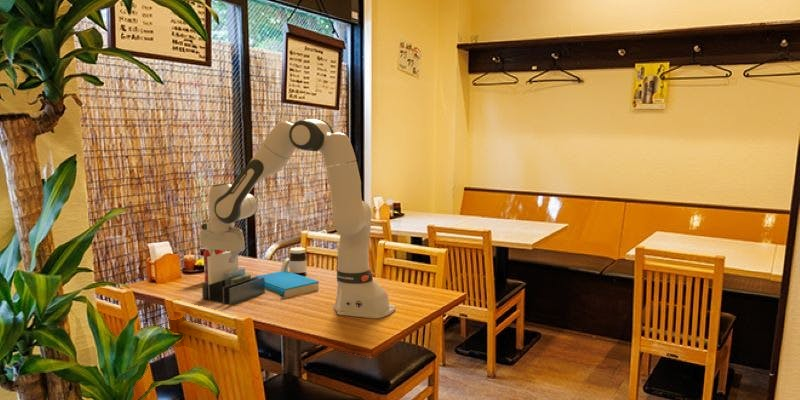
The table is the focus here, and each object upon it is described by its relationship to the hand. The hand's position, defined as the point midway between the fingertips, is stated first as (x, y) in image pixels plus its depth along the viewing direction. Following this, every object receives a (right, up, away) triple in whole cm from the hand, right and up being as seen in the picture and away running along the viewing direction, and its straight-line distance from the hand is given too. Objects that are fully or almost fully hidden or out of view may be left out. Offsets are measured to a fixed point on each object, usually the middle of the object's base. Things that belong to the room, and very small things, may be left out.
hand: (223, 261), depth 209 cm
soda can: (-11, -12, +22) cm, 27 cm away
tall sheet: (0, -13, +1) cm, 13 cm away
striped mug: (+20, -10, +37) cm, 43 cm away
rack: (+4, -14, -1) cm, 15 cm away
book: (+21, -13, +15) cm, 29 cm away
